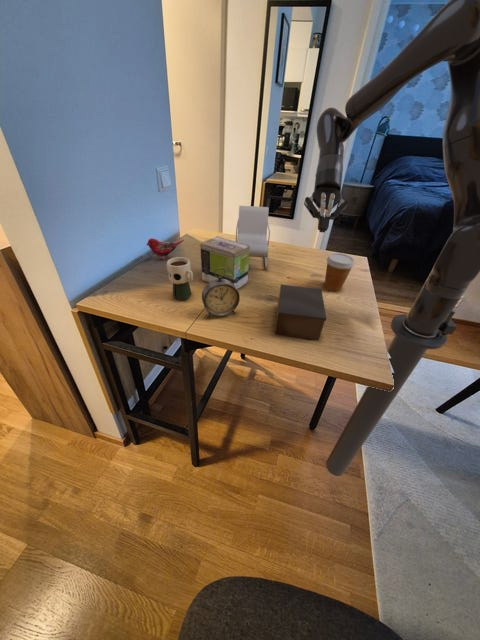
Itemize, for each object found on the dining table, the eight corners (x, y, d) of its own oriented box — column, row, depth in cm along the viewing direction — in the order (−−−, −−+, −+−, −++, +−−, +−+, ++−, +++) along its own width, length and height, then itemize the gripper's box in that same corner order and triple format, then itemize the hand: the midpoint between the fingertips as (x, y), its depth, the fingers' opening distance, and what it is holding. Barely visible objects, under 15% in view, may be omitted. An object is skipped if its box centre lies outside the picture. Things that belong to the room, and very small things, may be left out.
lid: (325, 321, 69) (326, 318, 68) (278, 314, 70) (278, 312, 70) (320, 291, 81) (321, 288, 81) (280, 286, 82) (280, 284, 82)
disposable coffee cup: (323, 279, 104) (331, 250, 97) (348, 286, 100) (358, 257, 93) (316, 289, 97) (324, 259, 90) (342, 297, 94) (352, 266, 86)
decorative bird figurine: (147, 262, 109) (143, 238, 103) (183, 252, 119) (181, 230, 113) (151, 264, 107) (146, 241, 101) (187, 254, 117) (185, 232, 111)
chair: (264, 248, 126) (269, 205, 114) (266, 272, 107) (272, 223, 95) (237, 246, 126) (238, 204, 114) (234, 270, 107) (235, 221, 95)
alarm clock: (204, 321, 79) (202, 273, 69) (201, 311, 83) (199, 264, 73) (239, 316, 82) (241, 269, 72) (234, 307, 86) (236, 261, 76)
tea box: (248, 282, 99) (251, 244, 90) (233, 293, 93) (234, 254, 84) (217, 270, 106) (217, 234, 97) (201, 280, 99) (199, 242, 90)
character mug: (163, 295, 89) (157, 260, 81) (177, 287, 94) (173, 253, 86) (187, 306, 85) (183, 270, 77) (201, 297, 90) (199, 262, 82)
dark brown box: (318, 340, 74) (325, 319, 70) (274, 334, 76) (278, 312, 71) (315, 311, 86) (320, 291, 81) (277, 306, 87) (280, 286, 82)
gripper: (308, 165, 74) (301, 222, 71) (356, 168, 72) (350, 227, 70) (304, 182, 81) (297, 234, 79) (347, 186, 80) (342, 239, 78)
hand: (322, 231), depth 75 cm, fingers closed
